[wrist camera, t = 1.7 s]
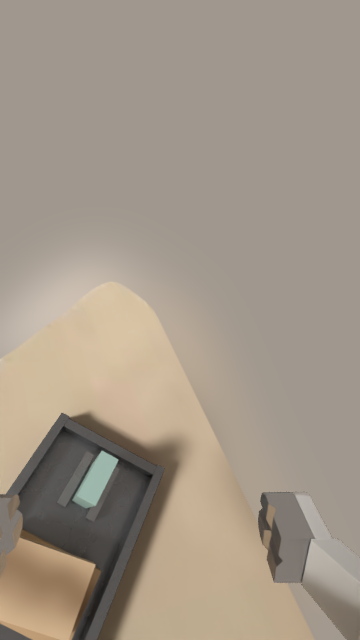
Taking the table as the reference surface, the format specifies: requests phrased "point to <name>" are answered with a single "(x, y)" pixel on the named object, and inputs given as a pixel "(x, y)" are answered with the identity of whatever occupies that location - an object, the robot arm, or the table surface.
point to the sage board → (95, 480)
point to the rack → (85, 510)
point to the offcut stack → (44, 589)
